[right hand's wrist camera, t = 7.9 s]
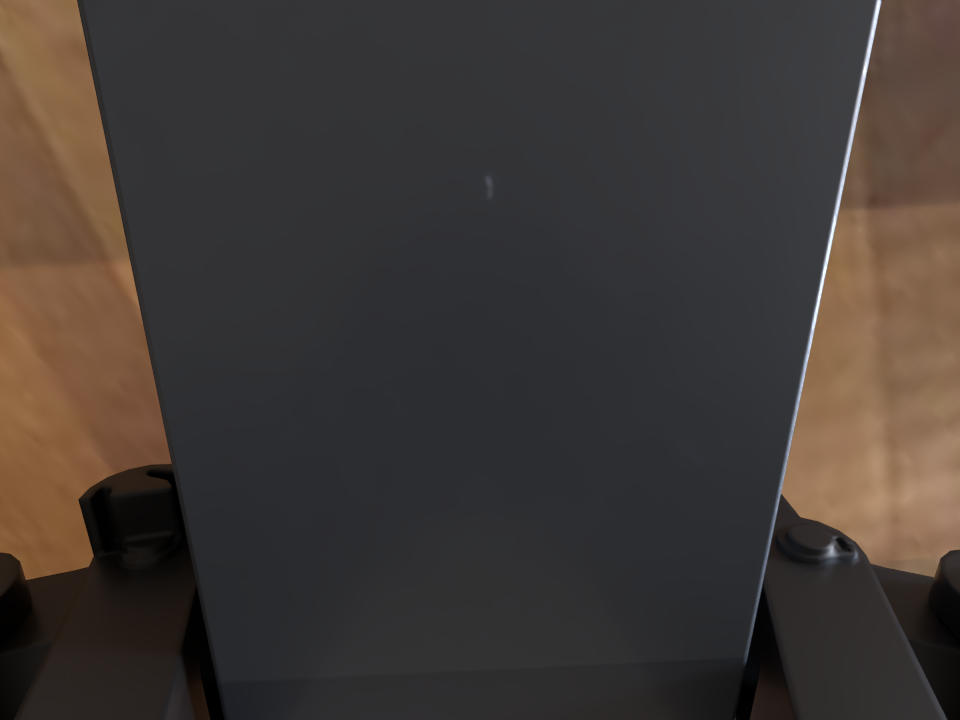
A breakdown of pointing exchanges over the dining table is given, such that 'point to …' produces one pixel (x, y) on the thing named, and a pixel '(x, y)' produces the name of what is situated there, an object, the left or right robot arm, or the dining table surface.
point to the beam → (479, 333)
